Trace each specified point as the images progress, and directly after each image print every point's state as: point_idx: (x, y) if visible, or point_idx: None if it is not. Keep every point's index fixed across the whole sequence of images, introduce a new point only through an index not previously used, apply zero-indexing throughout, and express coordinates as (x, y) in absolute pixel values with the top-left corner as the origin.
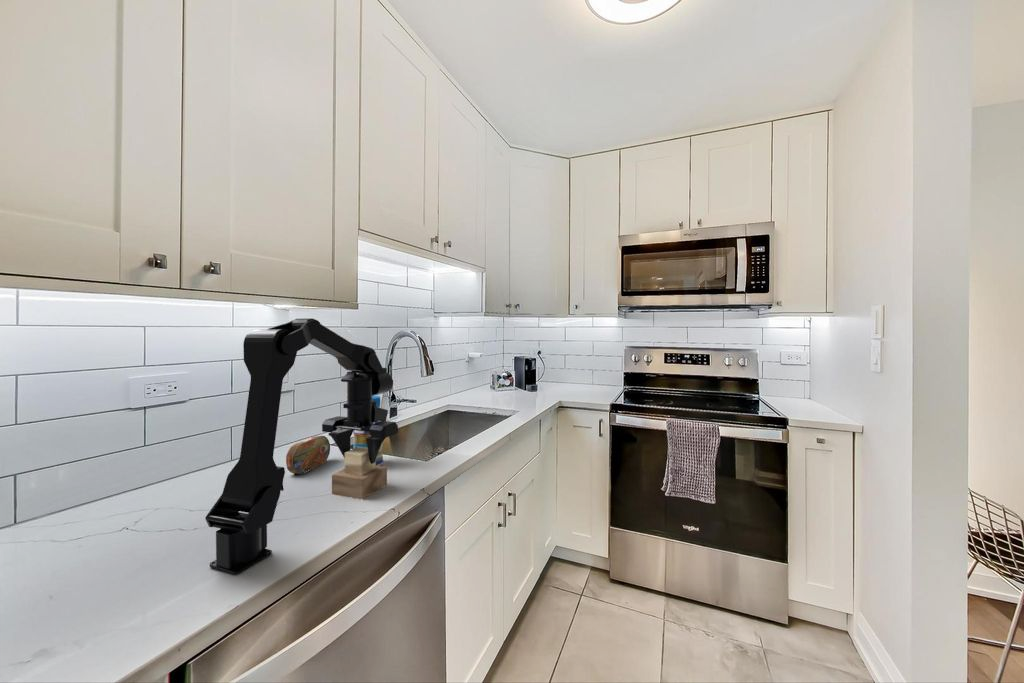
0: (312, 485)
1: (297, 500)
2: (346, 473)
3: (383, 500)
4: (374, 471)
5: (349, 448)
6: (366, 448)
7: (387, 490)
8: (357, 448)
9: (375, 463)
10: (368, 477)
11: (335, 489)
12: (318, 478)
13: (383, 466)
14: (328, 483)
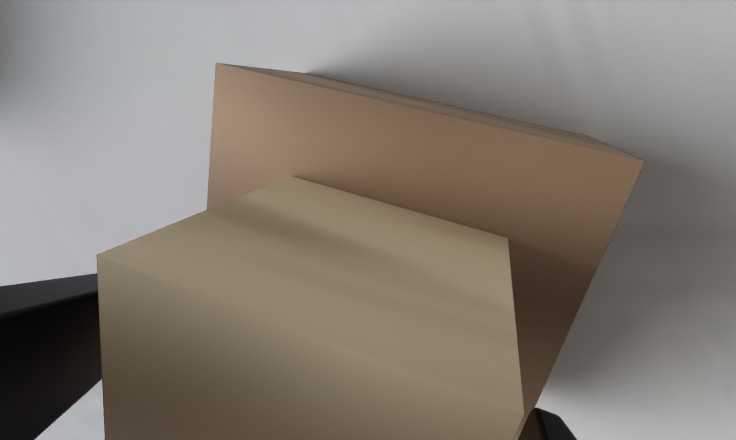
0: (104, 194)
1: None
2: None
3: (654, 400)
4: (530, 319)
5: (23, 329)
6: (297, 373)
7: (629, 239)
8: (138, 360)
9: (508, 259)
10: (520, 429)
11: None
12: (55, 84)
13: (586, 153)
14: (158, 155)
